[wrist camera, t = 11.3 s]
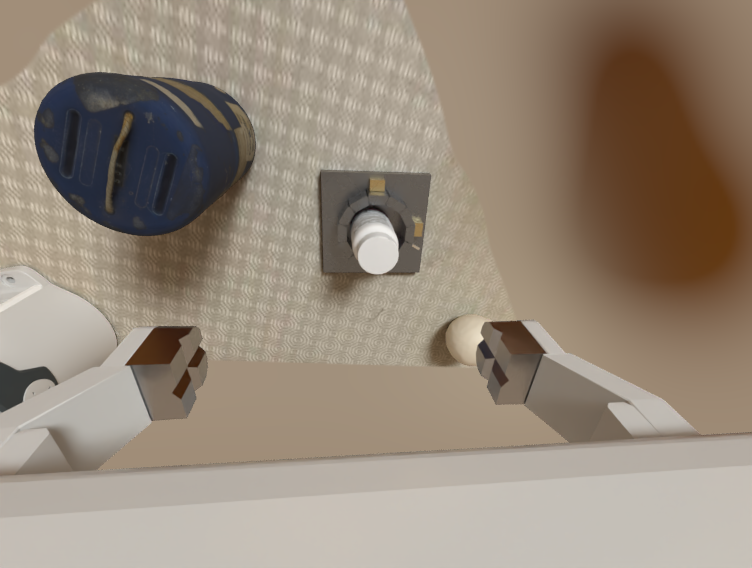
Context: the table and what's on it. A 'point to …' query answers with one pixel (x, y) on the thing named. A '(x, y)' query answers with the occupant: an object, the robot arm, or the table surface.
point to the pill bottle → (374, 241)
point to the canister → (142, 148)
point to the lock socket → (380, 191)
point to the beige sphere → (465, 337)
